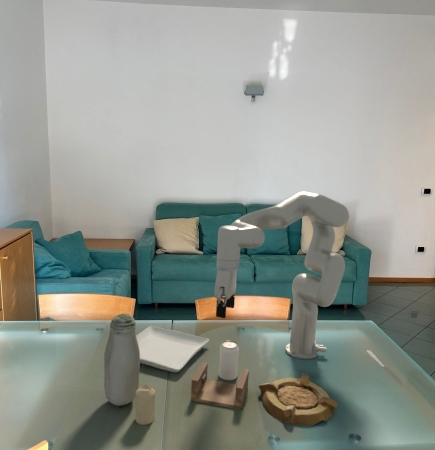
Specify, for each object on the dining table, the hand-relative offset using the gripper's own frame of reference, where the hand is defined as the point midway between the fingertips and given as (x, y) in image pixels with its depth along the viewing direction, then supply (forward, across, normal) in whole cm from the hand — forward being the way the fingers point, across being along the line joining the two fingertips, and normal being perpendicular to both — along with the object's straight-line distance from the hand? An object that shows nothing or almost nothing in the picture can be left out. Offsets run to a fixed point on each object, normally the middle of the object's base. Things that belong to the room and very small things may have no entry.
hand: (225, 312), depth 150 cm
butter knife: (+24, -30, +54) cm, 67 cm away
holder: (+23, +11, +3) cm, 26 cm away
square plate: (+24, -7, -26) cm, 36 cm away
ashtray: (+24, +6, +27) cm, 36 cm away
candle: (+24, +32, -13) cm, 42 cm away
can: (+24, -1, +2) cm, 24 cm away
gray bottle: (+24, +27, -24) cm, 43 cm away
